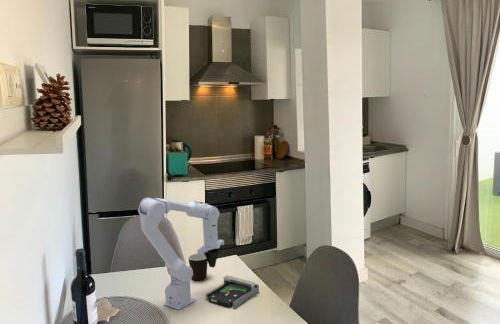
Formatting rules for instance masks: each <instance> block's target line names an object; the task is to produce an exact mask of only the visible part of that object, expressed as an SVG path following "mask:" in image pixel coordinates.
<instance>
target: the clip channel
mask: <svg viewBox="0 0 500 324" xmlns="http://www.w3.org/2000/svg"><path fill="white" fill-rule="evenodd" d="M222 279H223V284H221V285H219V286H216V288H214V289H212V290H210V291H209V292H207V293H206V294H205V300H206V301H209V299H208V297H209V296H211V295H212V294H214V293H216V292H217V291H219V290H221V289H222V288H224V287H226V286H227V285H230V284H233V285H237V286H243V287H246V288H249V290H250V291H249V292H247V293H245V294H244V295H242V296H241V297H239V298H238V299H236V300H235V301H233V302H232V304H233V306H232V309H234V310H236V309H237V308H238V307H240V306H241V305H243V304H244V303H246V302H247V301H248V300H250V299H252V298H253V297H254V296H256V295H257V294H259V293H260V286H259V284H257V283H255V282H254V281H252V280H247V279H243V278H239V277H235V276H231V275H227V274H226V275H225V276H223V278H222Z"/></svg>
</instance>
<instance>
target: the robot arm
mask: <svg viewBox="0 0 500 324" xmlns="http://www.w3.org/2000/svg"><path fill="white" fill-rule="evenodd" d="M170 211H175V212H180V213H181V212H183V213H185V214H186V215H187V217H191V218H197V219H202V231H203V233H202V234H203V245H202V246H201V247H200V248H198V249H197V250H196V251H197V254H198V255H203V254H204V255H205V256H206V258H207V261H208V264H207V265H208V267H209V268H215V267H216V263H217V259H218V256H219V254H220V252H221V249H220V248H221V246H224V245H225V240H224V239H219V235H218V234H219V232H218V222H219V221H218V219H219V217H220V213H221V212H220V211H219V209H218V208H217V206H213V205H210V204H209V203H207V202H206V203H205V202H204V203H200V202H199V201H197V200H193V201H189V202H188V203H184V202H179V201H175V200H172V199H171V200H170V199H166V198H159V197H156V198H155V197H154V198H151V197H144V198H142V200H141V201H140V203H139V206H138V209H137V212H138V215H139V220H140V221H139V222H140V230H141V232H142V233H144V235H145V236H146V238H147V240H148V241H149V242H150V243H151V244H152V246H153V248H154V249H155V250H156V251H157V253H158V254H159V255H160V258H161V259H162V260H163V261H164V263H165V264H164V265H165V267H166V270H167V271H166V272H167V274H168V275H169V276H170V281H169V284H168V285H166V286H165V289H164V293H165V294H164V295H165V303H164V306H166V307H169V308H172V309H175V310H178V311H179V310H182V309H184V308H185V307H186V306H188V305H190V304H192V303H194V302H195V301H196V298H193V297H191V280H192V276H193V270H192V268H191V267H190V265H187V264H186V263H185V262H184V261H183V260H182V259H181V257H180V256H178V255H177V253H176V251H175V250H174V249H173V247H172V245H171V244H170V243H169V242H168V240H167V239H166V237H165V236H164V235H163V233H162V232H161V230H160V229H159V225H160V223H161V221H162V220H163V218H164V216H165V215H166V214H169V213H170Z"/></svg>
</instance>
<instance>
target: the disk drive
mask: <svg viewBox="0 0 500 324" xmlns="http://www.w3.org/2000/svg"><path fill="white" fill-rule="evenodd" d="M249 291H250V290H249V288H246V287H243V286H237V285H233V284H230V285H227V286H226V287H224V288H222V289H221V290H219V291H217V292H216V293H214V294H212V295H211V296H209V297H208V299H209V300H208V303H210V304H214V305H217V306H220V307H223V308H226V309H231V308H233V304H232V302H233V301H235V300H236V299H238V298H239V297H241V296H242V295H244V294H245V293H247V292H249Z"/></svg>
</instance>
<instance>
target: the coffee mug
mask: <svg viewBox="0 0 500 324" xmlns="http://www.w3.org/2000/svg"><path fill="white" fill-rule="evenodd" d="M187 258H188V263H189V265H188V266H189V267H191V268H192V270H193V276H192V278H191V280H192V281H193V282H204V281H205V280H207V275H208V265H209V264H208V261H207V258H206V256H205V255H204V254H203V255H198V253H194V254H190V255H189V256H188V257H187Z"/></svg>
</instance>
